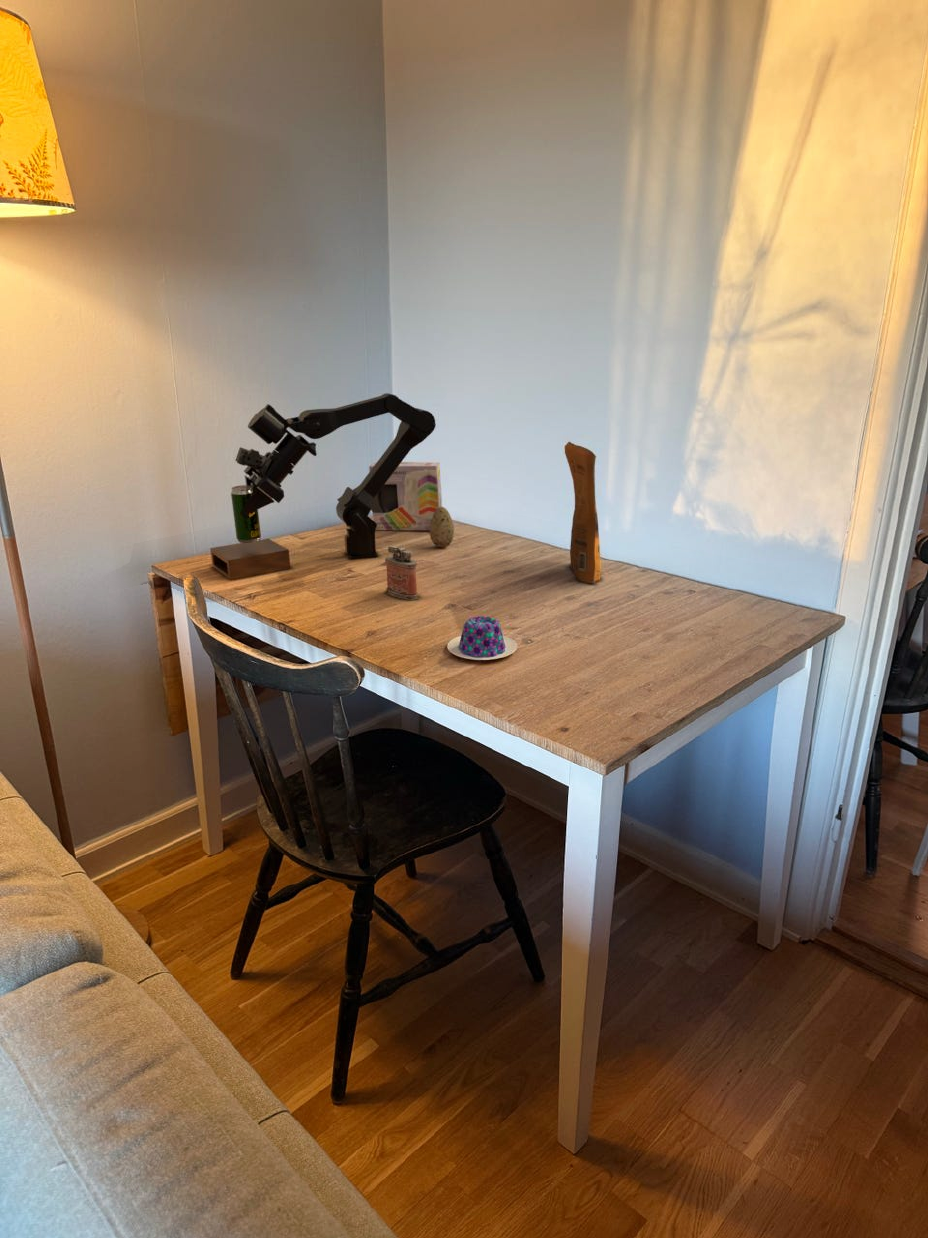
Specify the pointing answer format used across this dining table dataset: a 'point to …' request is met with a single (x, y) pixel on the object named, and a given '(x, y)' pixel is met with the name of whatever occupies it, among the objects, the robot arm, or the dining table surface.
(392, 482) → the cake pan box
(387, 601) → the dining table surface
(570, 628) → the dining table surface
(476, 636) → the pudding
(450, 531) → the decorative egg
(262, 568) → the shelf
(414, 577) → the lighter
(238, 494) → the beer can
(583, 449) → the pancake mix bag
